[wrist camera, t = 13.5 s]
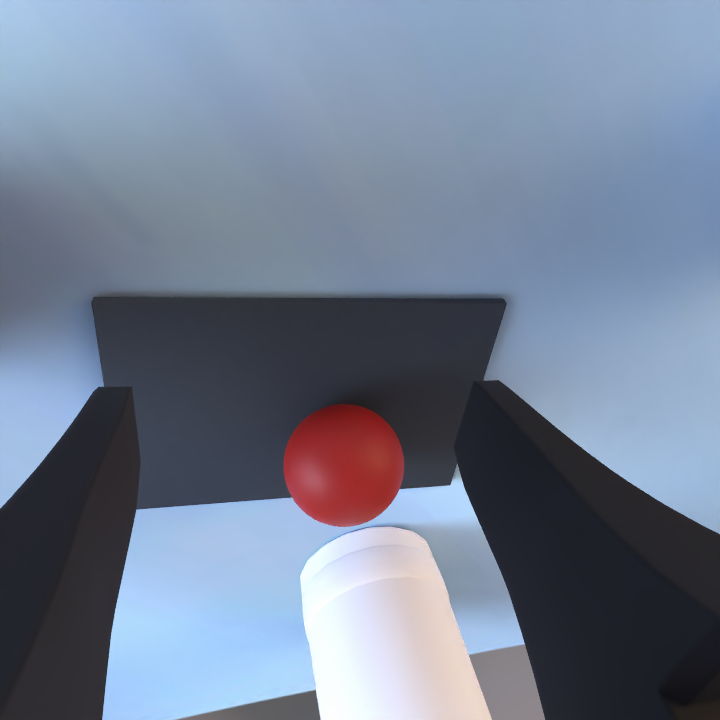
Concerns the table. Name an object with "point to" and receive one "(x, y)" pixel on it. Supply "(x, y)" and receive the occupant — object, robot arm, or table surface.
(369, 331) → the mat
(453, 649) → the bottle
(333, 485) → the ball
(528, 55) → the table surface
